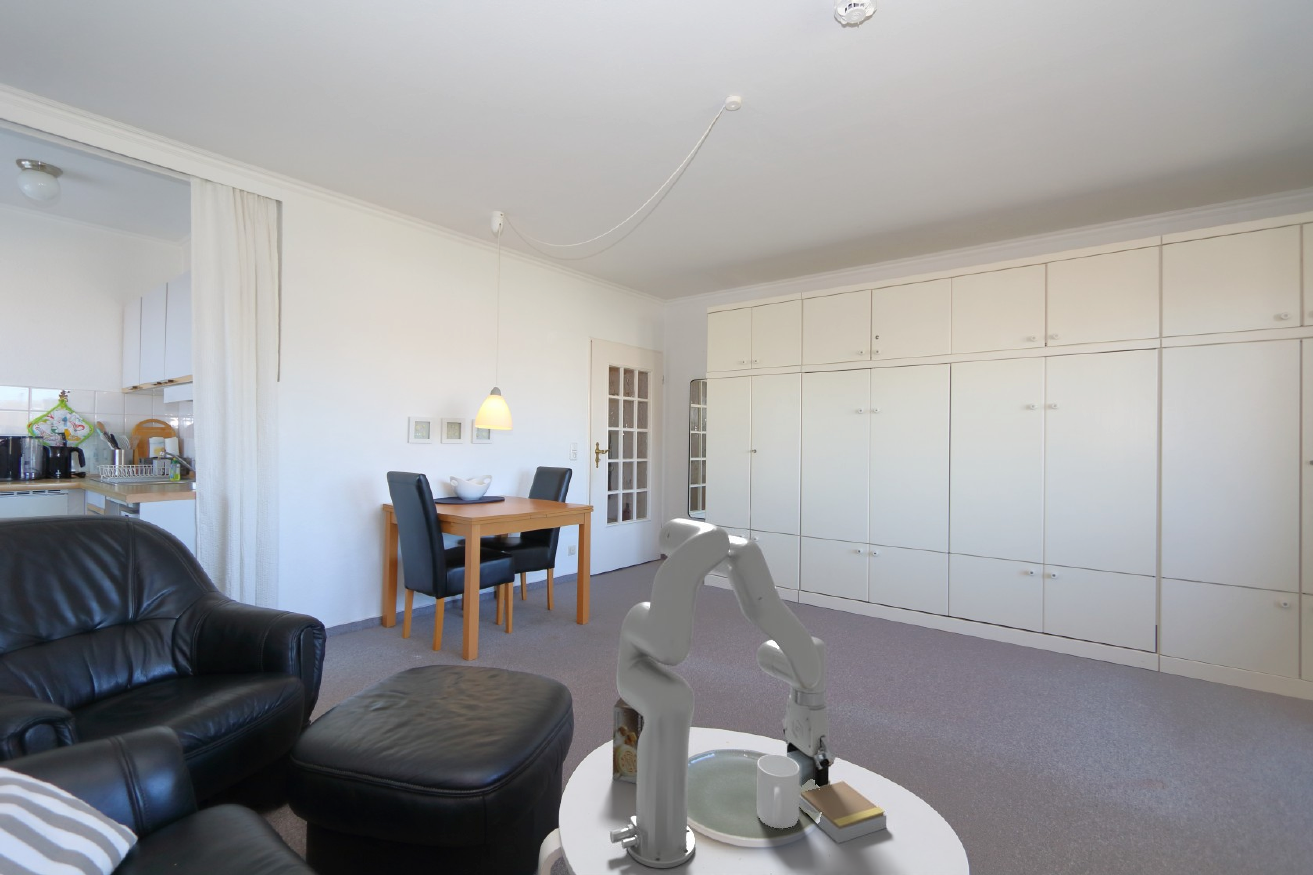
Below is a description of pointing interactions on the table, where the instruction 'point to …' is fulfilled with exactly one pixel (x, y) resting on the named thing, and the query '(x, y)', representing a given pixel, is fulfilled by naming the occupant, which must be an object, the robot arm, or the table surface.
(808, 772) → the banded blue box
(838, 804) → the dock
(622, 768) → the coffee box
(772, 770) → the mug
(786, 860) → the table surface
